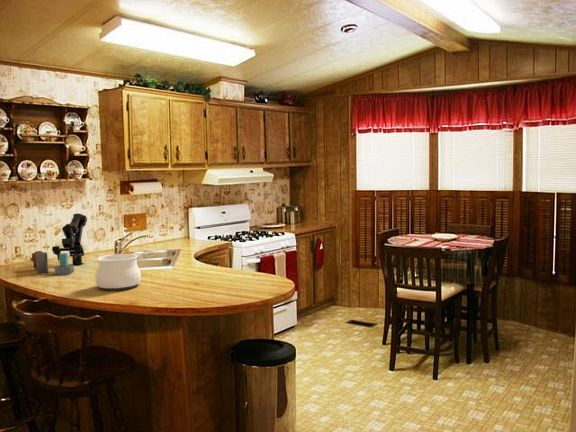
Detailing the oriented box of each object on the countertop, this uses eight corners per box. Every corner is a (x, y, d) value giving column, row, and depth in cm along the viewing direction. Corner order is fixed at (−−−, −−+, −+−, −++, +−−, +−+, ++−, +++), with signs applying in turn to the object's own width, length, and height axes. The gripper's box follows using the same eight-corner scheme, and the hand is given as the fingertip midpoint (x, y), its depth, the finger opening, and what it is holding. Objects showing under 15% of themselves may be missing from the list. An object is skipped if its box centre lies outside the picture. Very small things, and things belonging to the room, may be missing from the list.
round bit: (41, 271, 346) (40, 252, 345) (50, 272, 344) (49, 252, 343) (34, 273, 339) (33, 254, 338) (43, 274, 338) (42, 254, 337)
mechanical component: (33, 271, 347) (29, 269, 355) (49, 269, 353) (45, 267, 361) (31, 253, 346) (28, 251, 354) (48, 251, 352) (44, 249, 360)
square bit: (62, 273, 340) (61, 253, 339) (68, 272, 341) (67, 252, 339) (60, 274, 336) (59, 254, 335) (66, 274, 337) (65, 253, 335)
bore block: (59, 272, 342) (58, 264, 342) (73, 271, 343) (73, 264, 343) (55, 275, 333) (54, 267, 333) (69, 274, 335) (69, 266, 334)
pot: (128, 279, 316) (126, 250, 314) (153, 284, 300) (151, 254, 299) (84, 288, 294) (82, 257, 292) (108, 294, 279) (106, 262, 277)
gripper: (51, 234, 345) (47, 253, 335) (81, 233, 347) (78, 252, 338) (56, 244, 354) (52, 263, 344) (85, 243, 356) (82, 262, 346)
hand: (66, 260), depth 343 cm, fingers open, 9 cm apart
